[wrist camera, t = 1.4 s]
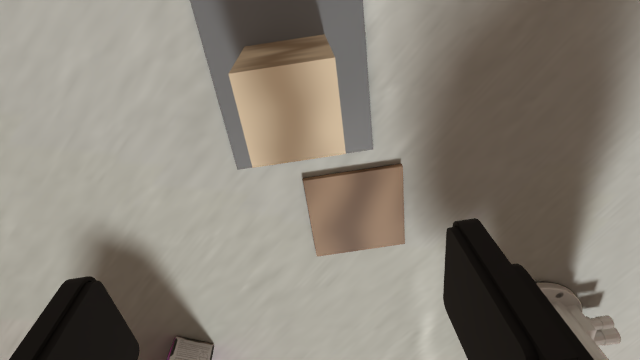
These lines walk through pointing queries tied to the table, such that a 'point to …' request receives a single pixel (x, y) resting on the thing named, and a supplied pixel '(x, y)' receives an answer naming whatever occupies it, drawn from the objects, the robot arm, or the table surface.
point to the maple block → (288, 100)
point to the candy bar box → (190, 350)
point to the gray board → (278, 25)
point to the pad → (356, 209)
